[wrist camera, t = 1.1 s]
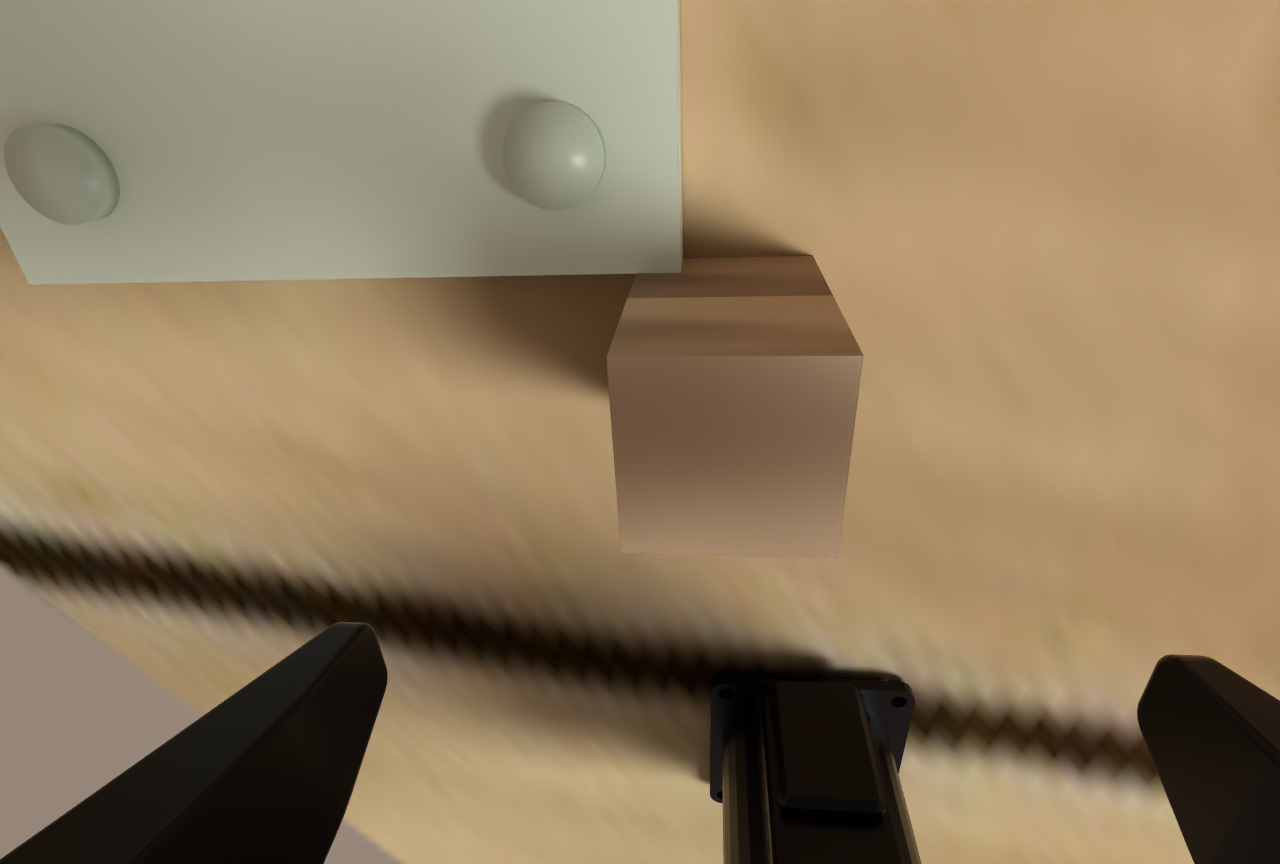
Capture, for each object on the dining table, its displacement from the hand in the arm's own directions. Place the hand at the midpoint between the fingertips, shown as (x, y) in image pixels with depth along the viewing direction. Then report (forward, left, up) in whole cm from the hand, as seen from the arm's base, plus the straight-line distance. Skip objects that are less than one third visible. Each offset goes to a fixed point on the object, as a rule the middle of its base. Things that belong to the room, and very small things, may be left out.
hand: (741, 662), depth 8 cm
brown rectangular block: (0, 0, -10) cm, 10 cm away
